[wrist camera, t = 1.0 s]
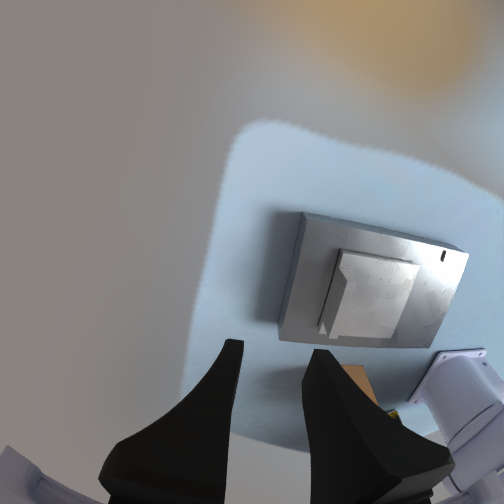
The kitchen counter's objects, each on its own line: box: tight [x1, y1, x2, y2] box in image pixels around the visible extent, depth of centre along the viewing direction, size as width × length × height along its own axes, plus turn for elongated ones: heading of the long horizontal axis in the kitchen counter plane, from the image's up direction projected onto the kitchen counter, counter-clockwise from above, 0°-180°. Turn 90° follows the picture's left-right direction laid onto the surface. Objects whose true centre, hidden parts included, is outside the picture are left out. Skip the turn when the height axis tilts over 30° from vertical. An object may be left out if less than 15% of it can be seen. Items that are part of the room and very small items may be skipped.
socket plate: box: [278, 212, 469, 348], centre depth 19 cm, size 14×9×2 cm, turn 81°
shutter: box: [318, 250, 419, 339], centre depth 17 cm, size 6×6×2 cm
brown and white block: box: [341, 365, 379, 406], centre depth 21 cm, size 4×4×6 cm
